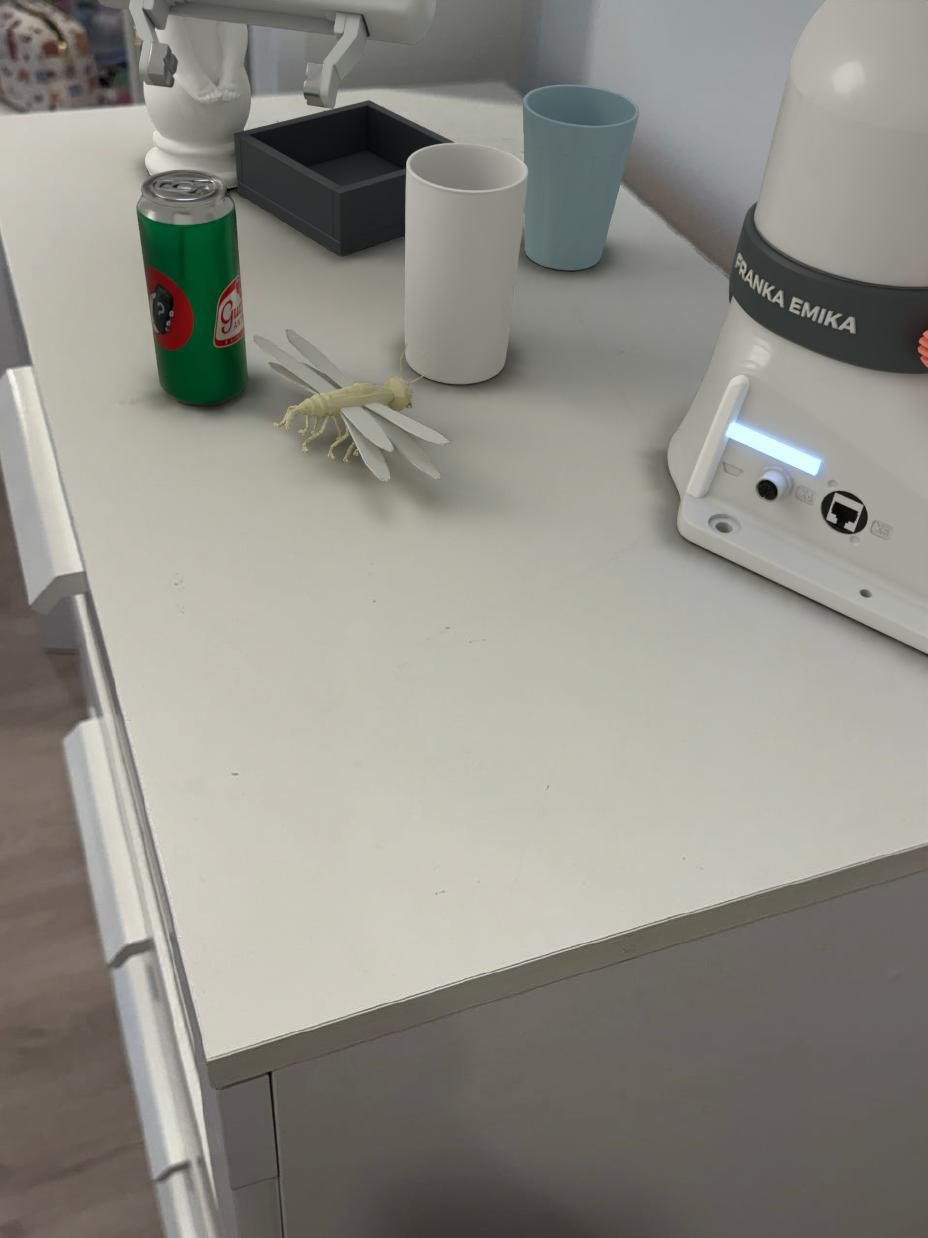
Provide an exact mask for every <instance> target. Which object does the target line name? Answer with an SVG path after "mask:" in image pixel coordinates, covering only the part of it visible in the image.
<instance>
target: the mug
mask: <svg viewBox="0 0 928 1238" xmlns="http://www.w3.org/2000/svg"><path fill="white" fill-rule="evenodd" d="M406 167H407V171H406V201H405V235H404V236H405V237H404V242H405V243H404V244H405V245H404V247H405V248H404V264H405V265H404V347H405V346H406V343H407V344H408V346H407V347H406V349H405V348H404V349H405V352H404V356H405V360H406V363H407V364H408V365H409V368H411V369H412V370H413V371H414V372H416V373H417V375H420V376H422V375H423V374H425V373H426V372H427V371H426V370H428V369H429V368H428V367H430V369H429V370H428V372H427V373H426V375H424V376H423V377H424V378H426V379H429V380H432V381H435V382H439V383H442V384H450V385H470V384H476V383H480V382H481V383H482V382H484V381H488V380H490V379H492V378H493V377H496V375H498V374H499V373H500V372H501V371H502V370H503V368H504V367H505V364H506V359H507V354H508V348H509V347H508V346H509V341H510V334H511V325H512V316H513V309H514V300H515V299H514V298H515V289H516V282H517V276H518V275H517V273H518V267H519V257H520V249H521V242H522V233H523V225H524V209H525V201H526V191H527V178H528V168H527V166H526V164H525V163H524V160H522V158H520V157H518V156H517V155H515V154H514V153H511V152H509V151H507V150H505V149H501V148H499V147H496V146H495V147H494V146H491V145H486V144H480V143H473V142H455V143H443V144H437V145H432V146H428V147H425V148H422V149H420V150H417V151H416V152H414V153H413V154H412V155H411V156H410V157H409V158H408V160H407V163H406ZM414 351H420V352H422V353H424V354H425V355H426V356H427V357H428V359H429V361H428V360H427V358H426V357H425V356H424V355H422V354H421V353H419V352H414ZM428 362H430V366H428ZM427 368H428V369H427ZM425 371H426V372H425ZM424 372H425V373H424Z"/></svg>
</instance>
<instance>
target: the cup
mask: <svg viewBox="0 0 928 1238" xmlns="http://www.w3.org/2000/svg"><path fill="white" fill-rule="evenodd" d="M522 99H523V100H522V130H523V131H522V132H523V133H522V134H523V162H524V163H525V164H526V166H527V168H528V178H527V191H526V201H525V209H524V218H523V225H524V227H523V228H524V230H523V231H524V253H525V255H526V256H527V257H528V258H529V259H530V260H531V261H532V262H534V263H536V264H537V265H539V266H542V267H545V268H548V269H552V270H558V271H581V270H585V269H588V268H592V267H594V266H595V265H596V264H598V262H599V261H600V260H601V259H602V255H603V252H604V247H605V245H606V240H607V237H608V233H609V230H610V225H611V222H612V218H613V214H614V210H615V207H616V202H617V199H618V195H619V192H620V187H621V185H622V181H623V177H624V173H625V169H626V166H627V161H628V157H629V154H630V150H631V146H632V142H633V139H634V135H635V131H636V128H637V124H638V120H639V116H640V107H639V106H638V105H637V103H635V102H634V101H633V100H632V99H630V98H629V97H627V96H625V95H624V94H621V93H618V92H615V91H613V90H609V89H605V88H603V87H602V88H601V87H598V86H597V87H596V86H590V85H581V84H554V85H553V84H552V85H546V86H542V87H538V88H535V89H532V90H530V91H529V92H528V93H526V94H525V95H524V97H523V98H522Z"/></svg>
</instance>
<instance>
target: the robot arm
mask: <svg viewBox="0 0 928 1238" xmlns="http://www.w3.org/2000/svg"><path fill="white" fill-rule="evenodd" d="M97 1H98V3H99V4H100V5H102V6H104V7H105V8H109V9H110V8H111V9H117V10H118V9H119V10H124V11H125V10H127V11H129V12H130V14H131V17H132V20H133V23H134V25H135V29H136V28H137V29H136V32H137V31H138V33H137V35H138V34H139V35H138V36H140V37H139V39H140V42H141V43H142V46H141V51H140V58H139V62H138V73H139V76H140V78H141V79H142V80H143V83H144V82H145V83H146V85H153V86H161V87H169V88H172V87H173V85H174V81H175V79H174V77H173V75H174V74H175V73H176V70H177V65H178V60H177V58H176V57H175V55H174V54H172V50H171V48H170V47H169V45H168V44H161V43H159V40H158V37H157V34H156V31H155V28H157V29H158V30H164V29H165V28H166V23H167V18H168V15H174V16H182V17H190V18H198V19H206V20H214V21H222V22H231V23H239V24H247V26H248V25H249V26H254V27H255V26H257V27H263V28H271V29H280V30H288V31H296V32H304V33H312V34H319V35H320V34H321V35H329V36H334V37H335V39H336V41H337V42H336V44H335V45H334V47H332V49H331V50H330V51H329V53H328V54H327V55H326V57H325V58H324V60H323V61H322V62H321V63H320V62H309V61H308V62H307V63H306V69H305V75H306V77H307V78H306V79H305V80H304V81H303V88H302V89H303V90H302V93H303V98H304V100H306V105H307V106H311V107H319V108H324V109H329V110H331V109H335V108H336V101H337V98H338V97H337V96H338V90H339V84H340V82H342V81H344V79H345V78H346V77H347V76H348V75H349V73H351V71H352V70H353V69H354V68H355V67H356V65H357V64H358V63H359V62H360V61H361V60H362V59H363V57H364V56H365V51H366V45H367V40H369V41H375V42H376V41H377V42H384V43H391V44H392V43H393V44H401V45H408V46H414V45H417V44H418V43H420V42H421V41H422V40H423V39H424V38H425V37H426V36H427V35H428V34H430V32H431V31H432V29H433V25H434V21H435V14H436V7H437V0H97ZM761 180H762V181H761V185H760V189H759V194H758V197H757V201H755V202H754V203H753V204H752V205H751V206H750V207H749V208H748V209H747V211H746V213H745V216H744V219H743V223H742V226H741V230H740V234H739V237H738V241H737V244H736V249H735V253H734V256H733V261H732V265H731V270H730V274H729V277H728V278H729V279H728V302H729V306H728V309H727V313H726V315H725V319H724V323H723V325H722V328H721V332H720V334H719V337H718V339H717V343H716V346H715V349H714V351H713V354H712V357H711V359H710V362H709V365H708V366H707V370H706V372H705V374H704V376H703V379H702V381H701V383H700V385H699V387H698V390H697V393H696V395H695V396H694V399H693V400H692V403H691V404H690V407H689V409H688V411H687V412H686V414H685V415H684V418H683V420H682V421H681V423H680V424H679V426H678V428H677V429H676V431H675V432H674V434H673V435H672V437H671V438H670V441H669V444H668V447H667V455H666V456H667V457H666V458H667V466H668V471H669V473H670V476H671V479H672V481H673V483H674V486H675V488H676V489H677V491H678V494H679V500H680V501H679V506H678V511H677V516H676V526H677V530H678V532H679V535H681V536H682V537H683V538H685V539H686V540H687V541H689V542H690V543H693V544H694V545H697V546H699V547H701V548H703V549H705V550H707V551H710V552H711V553H713V554H716V555H717V556H719V557H722V558H724V559H726V560H728V561H731V562H732V563H735V564H737V565H739V566H741V567H743V568H745V569H747V570H749V571H752V572H753V573H756V574H758V575H760V576H762V577H764V578H766V579H769V580H770V581H772V582H774V583H777V584H779V585H780V586H783V587H785V588H787V589H789V590H792V591H794V592H796V593H798V594H800V595H802V596H804V597H806V598H808V599H810V600H813V601H815V602H817V603H819V604H821V605H823V606H825V607H828V608H829V609H832V610H834V611H836V612H837V613H841V614H842V615H844V616H846V617H849V618H851V619H853V620H855V621H857V622H859V623H861V624H863V625H865V626H867V627H870V628H872V629H874V630H876V631H878V632H880V633H882V634H884V635H886V636H889V637H890V638H893V639H895V640H897V641H898V642H900V643H903V644H906V645H908V646H910V647H912V648H913V649H916V650H918V651H920V652H922V653H925V654H927V655H928V0H825V1H824V2H823V3H822V4H821V6H820V7H819V8H818V9H817V10H816V11H815V12H814V14H813V15H812V17H811V18H810V20H809V21H808V23H807V24H806V25H805V27H804V29H803V31H802V33H801V35H800V37H799V39H798V41H797V43H796V46H795V47H794V50H793V52H792V55H791V58H790V61H789V67H788V69H787V74H786V78H785V83H784V87H783V91H782V96H781V100H780V104H779V108H778V113H777V117H776V121H775V125H774V129H773V133H772V139H771V142H770V146H769V151H768V155H767V159H766V163H765V168H764V171H763V176H762V179H761Z"/></svg>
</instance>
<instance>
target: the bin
mask: <svg viewBox="0 0 928 1238" xmlns="http://www.w3.org/2000/svg"><path fill="white" fill-rule="evenodd" d="M443 143H456V142H455V141H453V140H452V139H449V138H447V137H445V136H444V135H442V134H439V133H437V132H435V131H433V130H431V129H429V128H427V127H425V126H422V125H421V124H418V123H417V122H414V121H412V120H410V119H408V118H406V117H404V116H402V115H401V114H398V113H396V112H394V111H392V110H390V109H388V108H386V107H384V106H381V105H380V104H377V103H376V102H374V101H372V100H370V99H368V100H367V99H366V100H364V101H360V102H356V103H352V104H347V105H344V106H340V107H334V108H333V109H327V110H324V111H319V112H315V113H311V114H307V115H302V116H299V117H294V118H291V119H287V120H282V121H279V122H273V123H271V124H266V125H263V126H262V125H261V126H258V127H255V128H250V129H249V128H248V129H246V130H245V129H244V131H241V132H237V133H234V144H235V158H236V172H237V185H238V186H237V194H238V195H240V196H242V197H243V198H245V199H246V200H248V201H250V202H251V203H254V205H256V206H258V207H259V208H261V209H263V210H265V211H266V212H267V213H269V214H271V215H273V216H274V217H276V218H278V219H279V220H281V221H282V222H284V223H286V224H287V225H289V226H290V227H292V228H294V229H296V230H297V231H299V232H300V233H302V234H304V235H305V236H307V237H309V238H310V239H312V240H314V241H315V242H317V243H319V245H322V246H324V247H325V248H326V249H328V250H330V251H332V252H333V253H335V254H336V255H338V256H340V257H343V256H345V255H349V254H351V253H354V252H358V251H361V250H364V249H366V248H370V247H373V246H375V245H378V244H382V243H385V242H388V241H391V240H394V239H397V238H400V237H404V236H405V201H406V171H407V167H406V163H407V160H408V158H409V157H410V156H411V155H412V154H413V153H414V152H416V151H417V150H420V149H422V148H425V147H428V146H432V145H437V144H443Z"/></svg>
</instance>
